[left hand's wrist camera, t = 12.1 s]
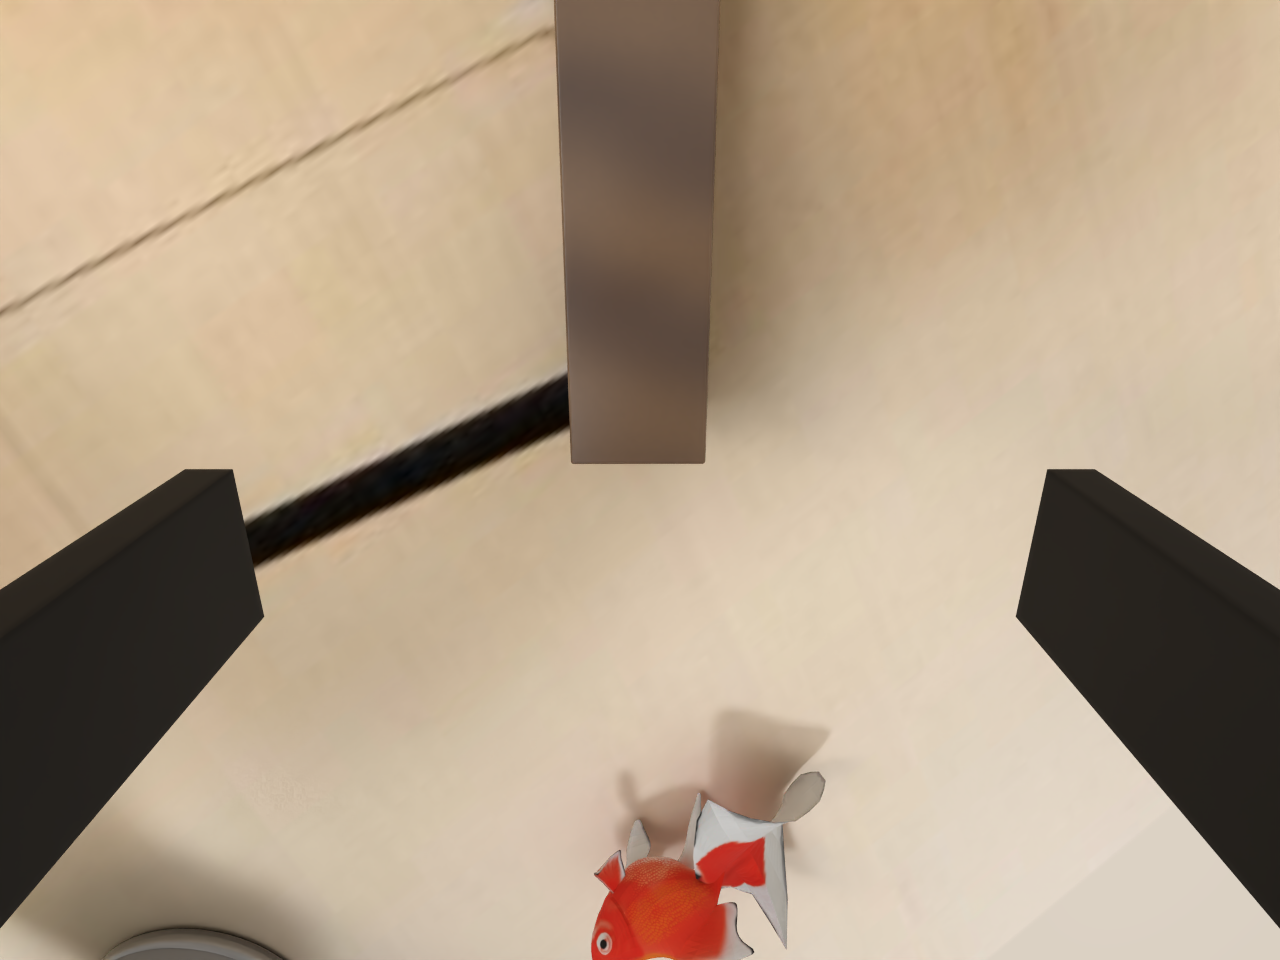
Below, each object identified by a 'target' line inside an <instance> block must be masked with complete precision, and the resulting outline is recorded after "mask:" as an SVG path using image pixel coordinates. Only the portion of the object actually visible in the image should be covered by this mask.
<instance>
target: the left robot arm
mask: <svg viewBox="0 0 1280 960" xmlns="http://www.w3.org/2000/svg"><path fill="white" fill-rule="evenodd" d="M263 617H264V614H263V609H262V604H261V600H260V595H259V590H258V586H257V581H256V576H255V572H254V567H253V562H252V558H251V553H250V548H249V544H248V539H247V534H246V530H245V525H244V520H243V516H242V511H241V506H240V502H239V497H238V492H237V487H236V483H235V478H234V473H233V469H185V470H183V471H182V472H180V473H179V474H177V475H176V476H174V477H173V478H171V479H170V480H168V481H166V482H165V483H163V484H162V485H160V486H159V487H157V488H156V489H154V490H153V491H151V492H150V493H148V494H147V495H145V496H143V497H142V498H140V499H139V500H137V501H136V502H134V503H133V504H131V505H130V506H128V507H127V508H125V509H124V510H122V511H120V512H119V513H117V514H116V515H114V516H113V517H111V518H110V519H108V520H107V521H105V522H104V523H102V524H101V525H99V526H97V527H96V528H94V529H93V530H91V531H90V532H88V533H87V534H85V535H84V536H82V537H81V538H79V539H78V540H76V541H74V542H73V543H71V544H70V545H68V546H67V547H65V548H64V549H62V550H61V551H59V552H58V553H56V554H55V555H53V556H51V557H50V558H48V559H47V560H45V561H44V562H42V563H41V564H39V565H38V566H36V567H35V568H33V569H32V570H30V571H28V572H27V573H25V574H24V575H22V576H21V577H19V578H18V579H16V580H15V581H13V582H12V583H10V584H8V585H7V586H5V587H4V588H2V589H1V590H0V928H1V927H2V926H3V924H4V923H5V922H6V921H7V920H8V919H9V917H10V916H11V915H12V914H13V913H14V911H15V910H16V909H17V908H18V907H19V906H20V904H21V903H22V902H23V901H24V900H25V898H26V897H27V896H28V895H29V894H30V893H31V891H32V890H33V889H34V888H35V887H36V885H37V884H38V883H39V882H40V881H41V880H42V878H43V877H44V876H45V875H46V874H47V872H48V871H49V870H50V869H51V868H52V867H53V865H54V864H55V863H56V862H57V861H58V860H59V858H60V857H61V856H62V855H63V854H64V852H65V851H66V850H67V849H68V848H69V847H70V845H71V844H72V843H73V842H74V841H75V839H76V838H77V837H78V836H79V835H80V834H81V832H82V831H83V830H84V829H85V828H86V826H87V825H88V824H89V823H90V822H91V821H92V819H93V818H94V817H95V816H96V815H97V813H98V812H99V811H100V810H101V809H102V808H103V806H104V805H105V804H106V803H107V802H108V800H109V799H110V798H111V797H112V796H113V795H114V793H115V792H116V791H117V790H118V789H119V787H120V786H121V785H122V784H123V783H124V782H125V780H126V779H127V778H128V777H129V776H130V774H131V773H132V772H133V771H134V770H135V769H136V767H137V766H138V765H139V764H140V763H141V761H142V760H143V759H144V758H145V757H146V756H147V754H148V753H149V752H150V751H151V750H152V748H153V747H154V746H155V745H156V744H157V743H158V741H159V740H160V739H161V738H162V737H163V736H164V734H165V733H166V732H167V731H168V730H169V728H170V727H171V726H172V725H173V724H174V723H175V721H176V720H177V719H178V718H179V717H180V715H181V714H182V713H183V712H184V711H185V710H186V708H187V707H188V706H189V705H190V704H191V702H192V701H193V700H194V699H195V698H196V697H197V695H198V694H199V693H200V692H201V691H202V689H203V688H204V687H205V686H206V685H207V684H208V682H209V681H210V680H211V679H212V678H213V676H214V675H215V674H216V673H217V672H218V671H219V669H220V668H221V667H222V666H223V665H224V663H225V662H226V661H227V660H228V659H229V658H230V656H231V655H232V654H233V653H234V652H235V650H236V649H237V648H238V647H239V646H240V645H241V643H242V642H243V641H244V640H245V639H246V637H247V636H248V635H249V634H250V633H251V632H252V630H253V629H254V628H255V627H256V626H257V625H258V623H259V622H260V621H261V620H262V619H263ZM1016 617H1017V619H1018V620H1019V621H1020V622H1021V623H1022V625H1023V626H1024V627H1025V628H1026V629H1027V630H1028V632H1029V633H1030V634H1031V635H1032V636H1033V637H1034V639H1035V640H1036V641H1037V642H1038V643H1039V645H1040V646H1041V647H1042V648H1043V649H1044V650H1045V652H1046V653H1047V654H1048V655H1049V656H1050V658H1051V659H1052V660H1053V661H1054V662H1055V663H1056V665H1057V666H1058V667H1059V668H1060V669H1061V671H1062V672H1063V673H1064V674H1065V675H1066V676H1067V678H1068V679H1069V680H1070V681H1071V682H1072V684H1073V685H1074V686H1075V687H1076V688H1077V689H1078V691H1079V692H1080V693H1081V694H1082V695H1083V697H1084V698H1085V699H1086V700H1087V701H1088V702H1089V704H1090V705H1091V706H1092V707H1093V708H1094V710H1095V711H1096V712H1097V713H1098V714H1099V715H1100V717H1101V718H1102V719H1103V720H1104V721H1105V723H1106V724H1107V725H1108V726H1109V727H1110V728H1111V730H1112V731H1113V732H1114V733H1115V734H1116V736H1117V737H1118V738H1119V739H1120V740H1121V741H1122V743H1123V744H1124V745H1125V746H1126V747H1127V748H1128V750H1129V751H1130V752H1131V753H1132V754H1133V756H1134V757H1135V758H1136V759H1137V760H1138V761H1139V763H1140V764H1141V765H1142V766H1143V767H1144V769H1145V770H1146V771H1147V772H1148V773H1149V774H1150V776H1151V777H1152V778H1153V779H1154V780H1155V782H1156V783H1157V784H1158V785H1159V786H1160V787H1161V789H1162V790H1163V791H1164V792H1165V793H1166V795H1167V796H1168V797H1169V798H1170V799H1171V800H1172V802H1173V803H1174V804H1175V805H1176V806H1177V808H1178V809H1179V810H1180V811H1181V812H1182V813H1183V815H1184V816H1185V817H1186V818H1187V819H1188V820H1189V822H1190V823H1191V824H1192V825H1193V826H1194V828H1195V829H1196V830H1197V831H1198V832H1199V833H1200V835H1201V836H1202V837H1203V838H1204V839H1205V841H1206V842H1207V843H1208V844H1209V845H1210V847H1211V848H1212V849H1213V850H1214V851H1215V852H1216V854H1217V855H1218V856H1219V857H1220V858H1221V860H1222V861H1223V862H1224V863H1225V864H1226V865H1227V867H1228V868H1229V869H1230V870H1231V871H1232V872H1233V874H1234V875H1235V876H1236V877H1237V878H1238V880H1239V881H1240V882H1241V883H1242V884H1243V885H1244V887H1245V888H1246V889H1247V890H1248V891H1249V893H1250V894H1251V895H1252V896H1253V897H1254V898H1255V900H1256V901H1257V902H1258V903H1259V904H1260V906H1261V907H1262V908H1263V909H1264V910H1265V911H1266V913H1267V914H1268V915H1269V916H1270V917H1271V919H1272V920H1273V921H1274V922H1275V923H1276V924H1277V926H1278V927H1279V928H1280V590H1279V589H1278V588H1276V587H1275V586H1273V585H1272V584H1270V583H1268V582H1267V581H1265V580H1264V579H1262V578H1261V577H1259V576H1258V575H1256V574H1255V573H1253V572H1252V571H1250V570H1248V569H1247V568H1245V567H1244V566H1242V565H1241V564H1239V563H1238V562H1236V561H1235V560H1233V559H1232V558H1230V557H1229V556H1227V555H1225V554H1224V553H1222V552H1221V551H1219V550H1218V549H1216V548H1215V547H1213V546H1212V545H1210V544H1209V543H1207V542H1206V541H1204V540H1202V539H1201V538H1199V537H1198V536H1196V535H1195V534H1193V533H1192V532H1190V531H1189V530H1187V529H1186V528H1184V527H1183V526H1181V525H1179V524H1178V523H1176V522H1175V521H1173V520H1172V519H1170V518H1169V517H1167V516H1166V515H1164V514H1163V513H1161V512H1160V511H1158V510H1156V509H1155V508H1153V507H1152V506H1150V505H1149V504H1147V503H1146V502H1144V501H1143V500H1141V499H1140V498H1138V497H1137V496H1135V495H1133V494H1132V493H1130V492H1129V491H1127V490H1126V489H1124V488H1123V487H1121V486H1120V485H1118V484H1117V483H1115V482H1114V481H1112V480H1110V479H1109V478H1107V477H1106V476H1104V475H1103V474H1101V473H1100V472H1098V471H1097V470H1095V469H1047V473H1046V478H1045V483H1044V487H1043V492H1042V497H1041V502H1040V506H1039V511H1038V516H1037V520H1036V525H1035V530H1034V534H1033V539H1032V544H1031V548H1030V553H1029V558H1028V562H1027V567H1026V572H1025V576H1024V581H1023V586H1022V590H1021V595H1020V600H1019V604H1018V609H1017V614H1016ZM102 960H283V959H281V958H280V957H278V956H277V955H275V954H274V953H272V952H270V951H268V950H267V949H265V948H263V947H261V946H259V945H256V944H254V943H252V942H249V941H247V940H244V939H241V938H238V937H235V936H231V935H228V934H224V933H219V932H214V931H208V930H199V929H168V930H159V931H154V932H149V933H145V934H142V935H139V936H136V937H133V938H131V939H129V940H127V941H124V942H123V943H121V944H119V945H118V946H116V947H115V948H114V949H112V950H111V951H110V952H109V953H108V954H107V955H106V956H105V957H104V958H103V959H102Z"/></svg>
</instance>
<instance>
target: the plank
mask: <svg viewBox="0 0 1280 960" xmlns="http://www.w3.org/2000/svg"><path fill="white" fill-rule="evenodd" d="M554 14H555V41H556V68H557V95H558V122H559V148H560V175H561V202H562V229H563V256H564V283H565V309H566V336H567V363H568V390H569V417H570V443H571V462H572V463H573V464H703V463H705V450H706V419H707V389H708V358H709V327H710V296H711V266H712V235H713V204H714V173H715V142H716V112H717V81H718V50H719V19H720V0H554Z"/></svg>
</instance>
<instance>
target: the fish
mask: <svg viewBox="0 0 1280 960" xmlns="http://www.w3.org/2000/svg"><path fill="white" fill-rule="evenodd" d="M824 786H825V779H824V778H823V777H822V775H821V774H820V773H819V772H809V773H805V774H801V775H800V776H799V777H798V778H797V779H796V780H795V781H794V782H793V783H792V784H791V786H790V787H789V788H788V790H787V791H786V792H785V794H784V795H783V801H782V804H781V807H780V809H779V811H778V812H777V814H776V815H775V817H774V818H773V819H772V821H771V822H769V821H763V820H757V819H751V818H748V817H745V816H742V815H740V814H737V813H734V812H731V811H728V810H727V809H725V808H723V807H721V806H719V805H717V804H716V803H714V802H712V801H710V800H707V802H706V804H705V806H704V808H703V809H702V811H701V794H700V793H698V794H697V798H696V801H695V805H694V808H693V811H692V815H691V818H690V822H689V826H688V831H687V837H686V842H685V847H684V850H683V852H682V855H681V856H680V858H679V860H678V861H676V860H674V859H671V858H667V857H647V855H648V853H649V851H650V847H651V845H650V840H649V838H648V836H647V834H646V832H645V830H644V827H643V825H642V822H641V821H640V820H636V821H635V822H634V824H633V827H632V830H631V834H630V838H629V841H628V846H627V861H626V868H625V869H624V866H623V863H622V859H621V850H619V851H617V852H616V853H615V854H613V855H612V856H611V857H609V858H608V860H607V861H606V862H605V863H604V865H603V866H602V867H601V868H600V869H599V870H598V871H597V872H596V873H594V875H595V876H596V877H597V878H598V879H599V880H600V881H601V882H603V883H604V885H605V886H606V887H607V888H608V889H609V890H610V891H609V893H608V895H607V897H606V898H605V900H604V903H603V905H602V908H601V910H600V912H599V914H598V917H597V920H596V924H595V927H594V931H593V935H592V943H591V952H592V960H647V959H651V958H657V957H666V958H671V959H673V960H740V959H743V958H745V957H747V956H750V955H752V954H753V953H754V950H753V949H752V948H751V947H749V946H748V945H747V944H745V943H744V942H743V941H742V940H741V939H740V937H739V935H738V933H737V904H736V903H733V902H729V903H724V904H719V905H717V903H718V898H719V894H720V890H721V888H728V887H733V888H735V889H738V890H740V891H743V892H747V893H750V894H752V895H753V896H754V898H755V899H756V901H757V902H758V904H759V906H760V907H761V909H762V910H763V912H764V913H765V915H766V917H767V918H768V920H769V921H770V923H771V925H772V926H773V928H774V930H775V931H776V933H777V935H778V936H779V938H780V940H781V941H782V943H783V945H784V946H785V948H786V950H787V901H788V899H787V885H786V871H785V857H784V842H783V826H782V824H784V823H787V822H791V821H796V820H798V819H799V818H801V817H802V816H803V815H805V814H806V813H808V812H809V811H810V810H811V809H812V808H813V807H814V806H815V805H816V804H817V803H818V802H819V801H820V799H821V796H822V793H823V791H824ZM694 869H695V870H694Z"/></svg>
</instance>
